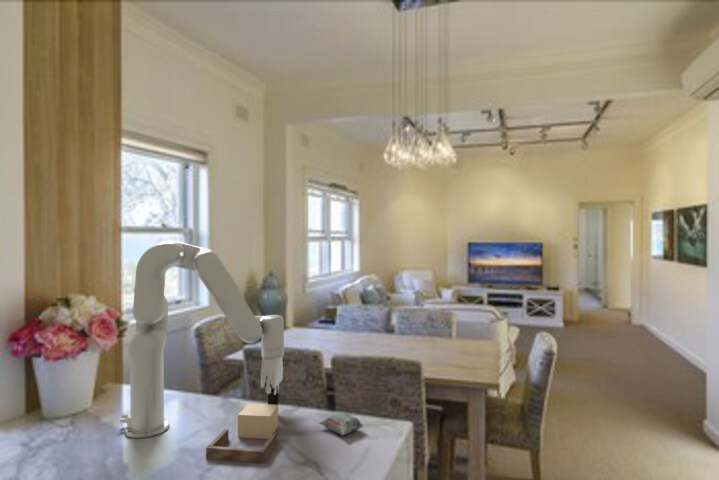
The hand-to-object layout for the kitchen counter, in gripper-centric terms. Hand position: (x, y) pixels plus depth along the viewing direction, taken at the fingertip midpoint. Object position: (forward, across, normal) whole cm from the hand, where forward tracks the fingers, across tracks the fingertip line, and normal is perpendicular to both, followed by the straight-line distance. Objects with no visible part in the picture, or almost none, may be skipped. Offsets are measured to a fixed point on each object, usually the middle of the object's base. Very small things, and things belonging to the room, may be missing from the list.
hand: (273, 405), depth 151 cm
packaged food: (+4, +9, +25) cm, 27 cm away
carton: (+3, +13, 0) cm, 14 cm away
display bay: (+3, +25, 0) cm, 25 cm away
